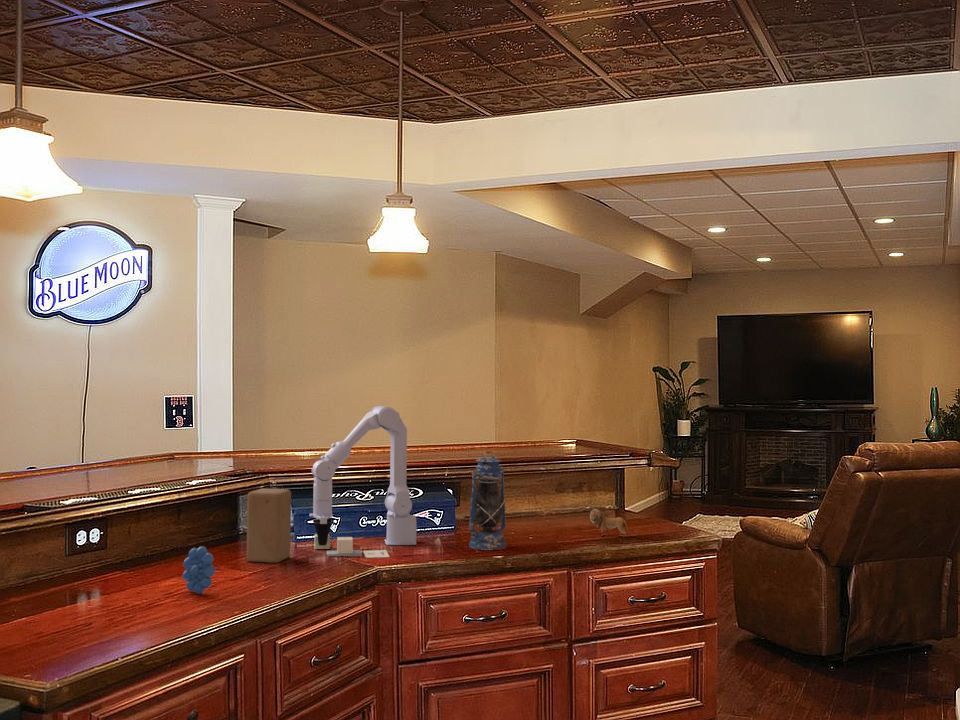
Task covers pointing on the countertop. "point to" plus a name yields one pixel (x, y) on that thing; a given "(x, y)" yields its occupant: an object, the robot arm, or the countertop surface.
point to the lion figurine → (607, 521)
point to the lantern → (487, 505)
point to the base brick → (334, 553)
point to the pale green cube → (322, 545)
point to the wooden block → (268, 525)
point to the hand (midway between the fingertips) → (322, 543)
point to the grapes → (198, 570)
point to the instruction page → (376, 554)
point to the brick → (344, 545)
